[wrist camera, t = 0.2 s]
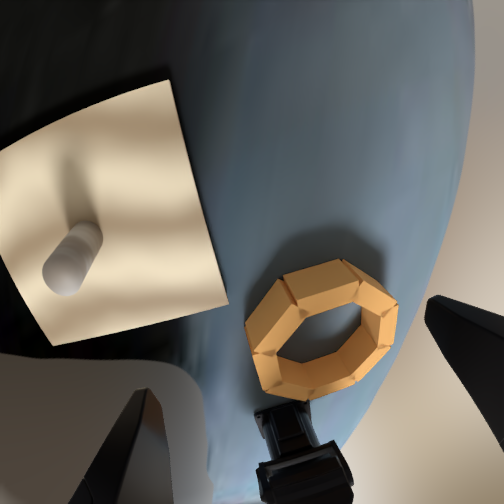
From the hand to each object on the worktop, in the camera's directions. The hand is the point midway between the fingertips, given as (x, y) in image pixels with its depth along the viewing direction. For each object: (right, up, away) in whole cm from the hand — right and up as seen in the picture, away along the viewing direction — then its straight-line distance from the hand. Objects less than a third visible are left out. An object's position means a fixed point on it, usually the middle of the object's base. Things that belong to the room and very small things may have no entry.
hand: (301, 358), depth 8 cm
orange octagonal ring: (+4, -4, +19) cm, 20 cm away
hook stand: (-13, +4, +11) cm, 17 cm away
